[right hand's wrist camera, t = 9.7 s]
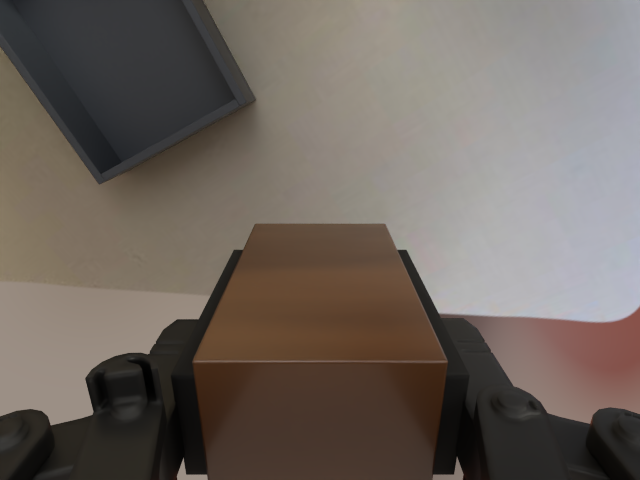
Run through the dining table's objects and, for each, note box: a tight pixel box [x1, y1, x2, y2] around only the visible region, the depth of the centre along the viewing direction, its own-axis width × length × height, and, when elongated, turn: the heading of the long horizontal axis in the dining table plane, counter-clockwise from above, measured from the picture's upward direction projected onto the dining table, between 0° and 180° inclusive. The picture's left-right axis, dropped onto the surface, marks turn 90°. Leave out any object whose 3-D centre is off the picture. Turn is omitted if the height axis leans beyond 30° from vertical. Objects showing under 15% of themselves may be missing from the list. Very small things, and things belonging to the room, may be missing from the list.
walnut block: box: [192, 224, 448, 480], centre depth 12 cm, size 4×4×8 cm
